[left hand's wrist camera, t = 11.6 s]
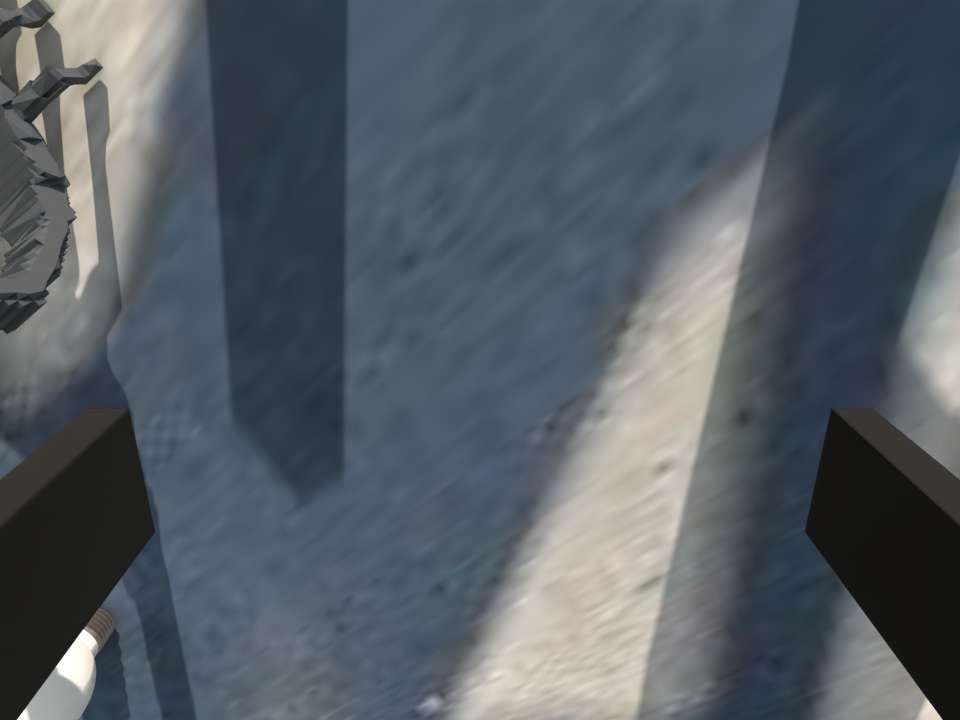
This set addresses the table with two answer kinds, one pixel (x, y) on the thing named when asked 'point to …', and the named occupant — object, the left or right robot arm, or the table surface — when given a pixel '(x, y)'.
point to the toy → (32, 181)
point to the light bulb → (72, 675)
